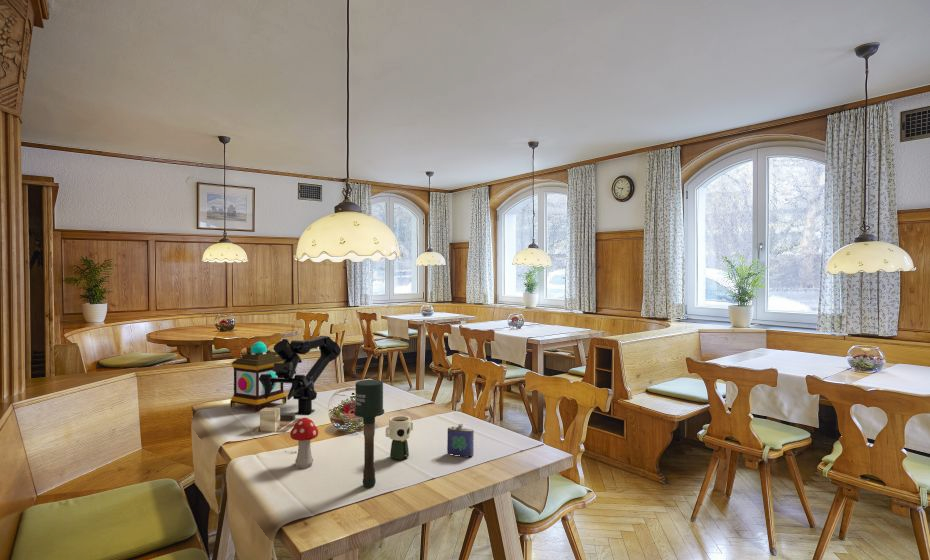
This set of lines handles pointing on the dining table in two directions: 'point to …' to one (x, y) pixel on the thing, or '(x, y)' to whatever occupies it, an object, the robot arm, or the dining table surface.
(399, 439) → the character mug
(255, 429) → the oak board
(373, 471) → the potato masher grenade
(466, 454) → the flask
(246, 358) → the decorative lantern
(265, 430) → the cream rectangular block
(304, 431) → the decorative mushroom
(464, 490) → the dining table surface
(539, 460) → the dining table surface
